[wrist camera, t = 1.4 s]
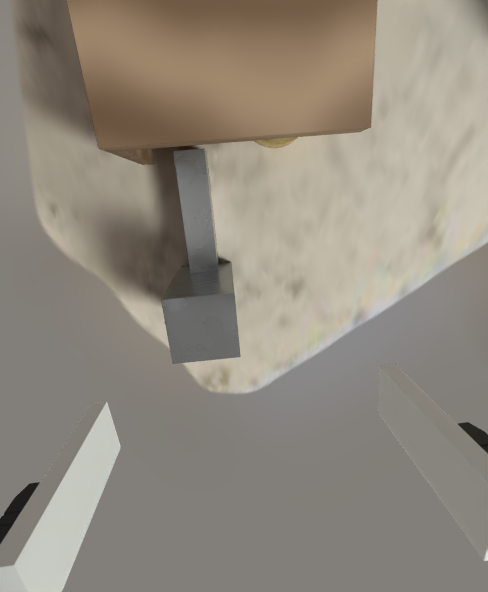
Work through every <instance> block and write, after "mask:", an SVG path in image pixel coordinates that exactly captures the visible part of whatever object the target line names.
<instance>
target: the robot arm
mask: <svg viewBox="0 0 488 592" xmlns="http://www.w3.org/2000/svg"><path fill="white" fill-rule="evenodd" d="M378 413H379V415H380V416H381V418H383V420H384V422H385V423H386V424H387V426H388V427H389V429H390V430H391V432H392V433H393V434H394V436H395V437H396V439H397V440H398V441H399V443H400V444H401V446H402V447H403V448H404V450H405V451H406V452H407V454H408V455H409V457H410V458H411V460H412V461H413V462H414V464H415V465H416V467H417V468H418V469H419V471H420V472H421V474H422V475H423V476H424V478H425V479H426V481H427V482H428V483H429V485H430V486H431V488H432V489H433V490H434V492H435V493H436V495H437V496H438V497H439V499H440V500H441V501H442V503H443V504H444V505H445V507H446V509H447V510H448V511H449V513H450V514H451V515H452V517H453V518H454V520H455V521H456V522H457V524H458V525H459V526H460V528H461V529H462V531H463V532H464V534H465V535H466V536H467V538H468V539H469V541H470V542H471V543H472V545H473V546H474V548H475V549H476V550H477V552H478V553H479V555H480V556H481V557H482V559H483V560H484V561H487V560H488V435H487V434H486V433H485V432H484V431H482V430H481V429H479V428H477V427H475V426H473V425H472V424H470V423H468V422H467V423H459V424H457V423H456V422H455V421H453V419H452V418H451V417H450V416H448V414H446V413H445V412H444V411H443V410H442V409H441V408H440V407H439V406H438V405H437V404H436V403H435V402H434V401H433V400H432V399H431V398H430V397H429V396H428V395H427V394H426V393H425V392H424V391H423V390H422V389H421V388H420V387H419V386H418V385H417V384H416V383H415V382H414V381H412V379H411V378H409V377H408V376H407V375H406V374H405V373H404V372H403V371H402V370H401V369H400V368H399V367H398V366H397V365H396V364H388V365H381V366H380V370H379V394H378ZM120 448H121V447H120V443H119V440H118V437H117V433H116V430H115V427H114V424H113V421H112V417H111V414H110V411H109V407H108V404H107V402H99V403H92V404H90V405H89V407H88V408H87V410H86V411H85V413H84V415H83V416H82V418H81V419H80V421H79V423H78V424H77V425H76V427H75V429H74V430H73V432H72V434H71V435H70V436H69V438H68V439H67V441H66V443H65V444H64V446H63V448H62V449H61V450H60V452H59V454H58V455H57V457H56V458H55V460H54V462H53V463H52V465H51V466H50V468H49V469H48V471H47V472H46V474H45V476H44V477H43V479H42V480H41V482H38V483H31V484H29V485H28V486H27V487H26V488H25V489H23V490H22V491H21V492H20V493H19V494H18V495H17V496H16V497H15V498H14V500H13V501H12V503H11V504H10V506H9V507H8V508H7V510H6V511H5V513H4V516H2V517H1V518H0V592H62V590H63V587H64V585H65V582H66V580H67V578H68V575H69V573H70V570H71V568H72V565H73V563H74V560H75V558H76V555H77V553H78V551H79V548H80V546H81V543H82V540H83V538H84V536H85V533H86V531H87V528H88V526H89V524H90V521H91V519H92V516H93V514H94V511H95V509H96V506H97V504H98V502H99V499H100V497H101V494H102V492H103V489H104V487H105V484H106V482H107V480H108V477H109V474H110V472H111V469H112V467H113V465H114V462H115V460H116V457H117V455H118V453H119V450H120Z"/></svg>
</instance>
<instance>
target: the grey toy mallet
mask: <svg viewBox="0 0 488 592" xmlns="http://www.w3.org/2000/svg"><path fill="white" fill-rule="evenodd" d="M173 154H174V161H175V168H176V175H177V182H178V189H179V196H180V203H181V210H182V217H183V224H184V231H185V238H186V245H187V252H188V259H189V266H183V267H181V268H180V269H179V271H178V273H177V274H176V276H175V278H174V279H173V281H172V283H171V284H170V286H169V288H168V289H167V291H166V293H165V294H164V296H163V298H162V299H161V302H162V308H163V313H164V319H165V324H166V330H167V335H168V341H169V346H170V352H171V357H172V363H173V364H176V363H186V362H196V361H205V360H215V359H225V358H235V357H240V347H239V337H238V326H237V316H236V305H235V295H234V285H233V275H232V266H231V262H226V263H219V262H218V252H217V243H216V234H215V225H214V216H213V207H212V198H211V188H210V179H209V170H208V161H207V153H206V151H205V149H193V150H181V151H173Z"/></svg>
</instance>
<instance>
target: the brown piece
mask: <svg viewBox="0 0 488 592" xmlns="http://www.w3.org/2000/svg"><path fill="white" fill-rule="evenodd" d="M67 4H68V9H69V14H70V18H71V23H72V28H73V32H74V37H75V42H76V46H77V51H78V56H79V60H80V65H81V70H82V74H83V79H84V84H85V88H86V93H87V98H88V102H89V107H90V112H91V116H92V121H93V126H94V130H95V135H96V140H97V144H98V148H99V149H101V150H104V151H107V152H109V153H112V154H115V155H118V156H120V157H123V158H126V159H128V160H131V161H134V162H137V163H139V164H142V165H146V164H154V160H153V154H152V148H164V147H177V146H190V145H202V144H215V143H228V142H240V141H253V140H266V139H278V138H291V137H304V136H316V135H329V134H342V133H354V132H361V131H363V130H366V129H368V128H370V127H371V116H372V96H373V76H374V57H375V37H376V17H377V0H67Z"/></svg>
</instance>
